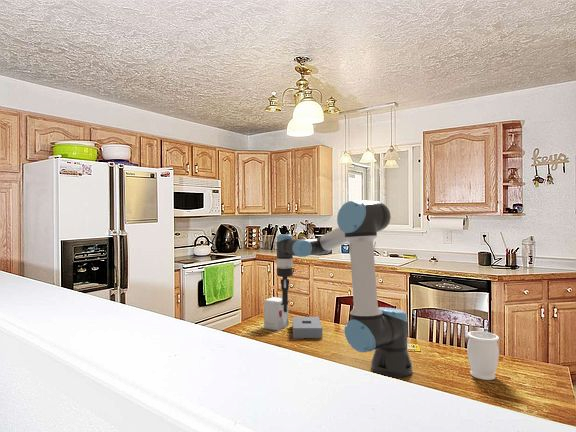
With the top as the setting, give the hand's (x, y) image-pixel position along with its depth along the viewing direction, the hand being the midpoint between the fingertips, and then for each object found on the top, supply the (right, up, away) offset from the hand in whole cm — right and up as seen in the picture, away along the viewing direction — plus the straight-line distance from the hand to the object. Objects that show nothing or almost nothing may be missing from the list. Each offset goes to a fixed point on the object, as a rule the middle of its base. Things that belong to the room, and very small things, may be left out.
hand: (285, 317), depth 175 cm
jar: (+73, -12, -37) cm, 83 cm away
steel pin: (0, -4, 0) cm, 4 cm away
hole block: (+11, -11, +14) cm, 21 cm away
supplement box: (-5, -12, +22) cm, 26 cm away
